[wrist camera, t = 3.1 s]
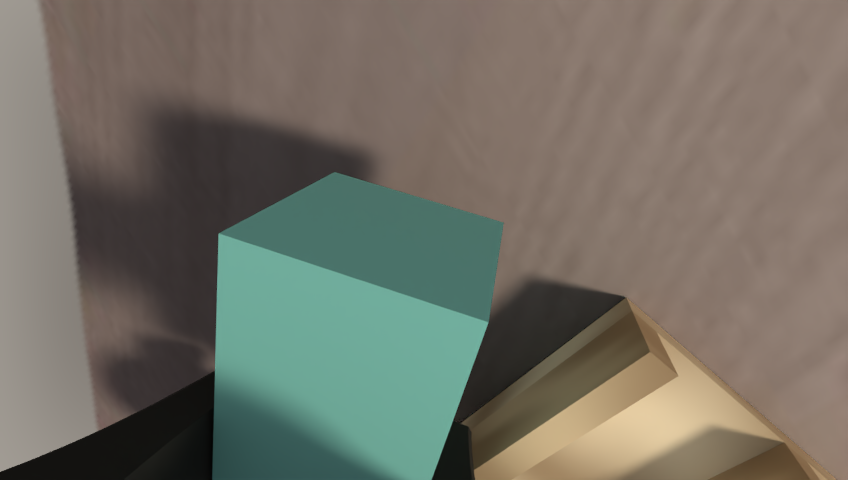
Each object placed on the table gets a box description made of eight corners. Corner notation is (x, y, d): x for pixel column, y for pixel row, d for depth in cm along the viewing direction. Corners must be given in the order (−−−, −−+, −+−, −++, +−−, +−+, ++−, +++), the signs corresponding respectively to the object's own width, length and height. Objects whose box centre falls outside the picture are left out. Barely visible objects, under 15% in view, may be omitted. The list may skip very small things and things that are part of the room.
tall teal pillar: (407, 505, 13) (362, 668, 10) (292, 461, 14) (209, 600, 10) (503, 223, 9) (488, 322, 6) (334, 172, 10) (218, 233, 6)
